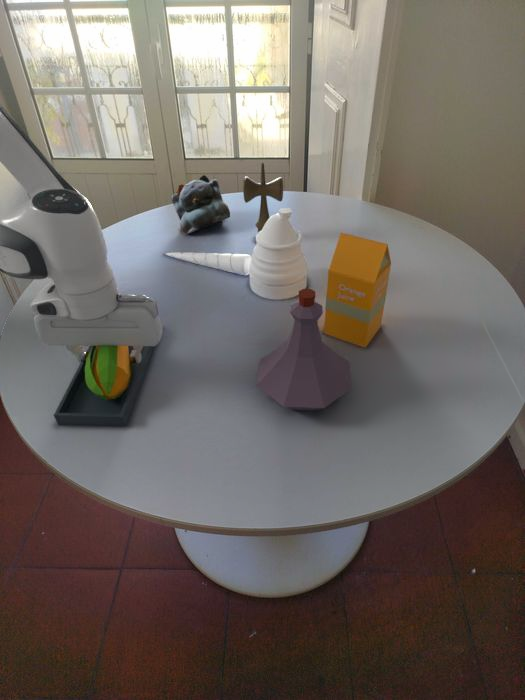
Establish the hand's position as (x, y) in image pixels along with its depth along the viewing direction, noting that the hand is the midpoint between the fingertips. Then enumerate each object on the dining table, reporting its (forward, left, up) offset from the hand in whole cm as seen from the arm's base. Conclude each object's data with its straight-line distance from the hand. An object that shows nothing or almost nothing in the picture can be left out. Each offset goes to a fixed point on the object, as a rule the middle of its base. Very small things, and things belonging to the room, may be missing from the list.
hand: (110, 360), depth 83 cm
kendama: (+25, +51, -3) cm, 57 cm away
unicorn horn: (+12, +38, -3) cm, 40 cm away
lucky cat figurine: (+7, +60, -3) cm, 61 cm away
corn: (0, 0, -3) cm, 3 cm away
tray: (0, 0, -3) cm, 3 cm away
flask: (+34, -4, -3) cm, 34 cm away
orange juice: (+44, +13, -3) cm, 46 cm away
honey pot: (+29, +30, -3) cm, 42 cm away
